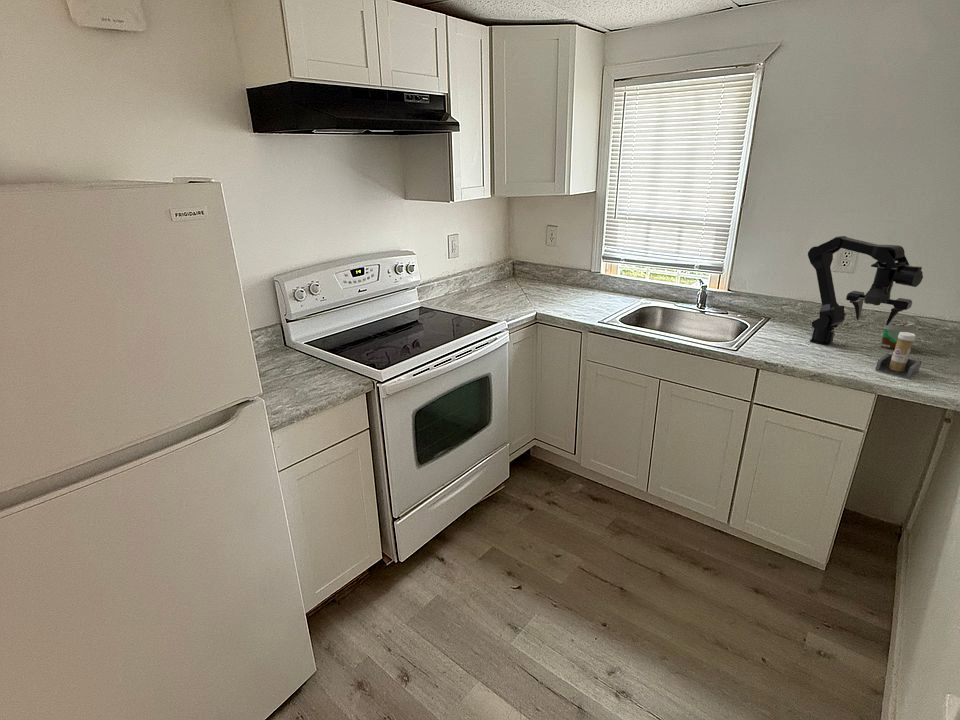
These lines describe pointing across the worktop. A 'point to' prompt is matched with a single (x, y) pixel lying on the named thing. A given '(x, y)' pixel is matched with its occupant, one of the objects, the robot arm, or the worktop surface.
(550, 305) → the worktop surface
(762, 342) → the worktop surface
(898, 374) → the dark grey shallow tray
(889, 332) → the food container
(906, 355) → the sprinkles bottle
